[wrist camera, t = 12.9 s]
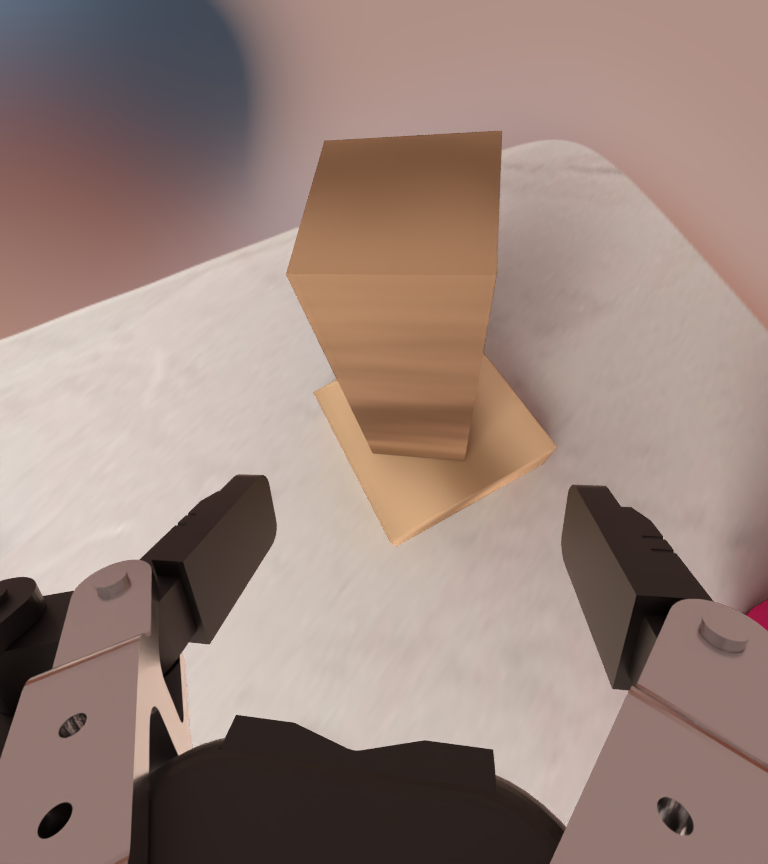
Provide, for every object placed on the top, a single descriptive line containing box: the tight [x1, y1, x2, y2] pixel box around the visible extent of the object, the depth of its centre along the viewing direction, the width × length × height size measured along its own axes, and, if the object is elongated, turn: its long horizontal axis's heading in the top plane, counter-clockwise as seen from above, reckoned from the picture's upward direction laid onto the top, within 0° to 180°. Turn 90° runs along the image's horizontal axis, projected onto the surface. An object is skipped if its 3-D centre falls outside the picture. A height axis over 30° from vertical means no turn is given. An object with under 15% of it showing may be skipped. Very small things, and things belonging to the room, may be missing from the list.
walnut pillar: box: [286, 131, 502, 461], centre depth 15 cm, size 4×4×12 cm
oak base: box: [313, 353, 557, 546], centre depth 21 cm, size 9×9×3 cm
